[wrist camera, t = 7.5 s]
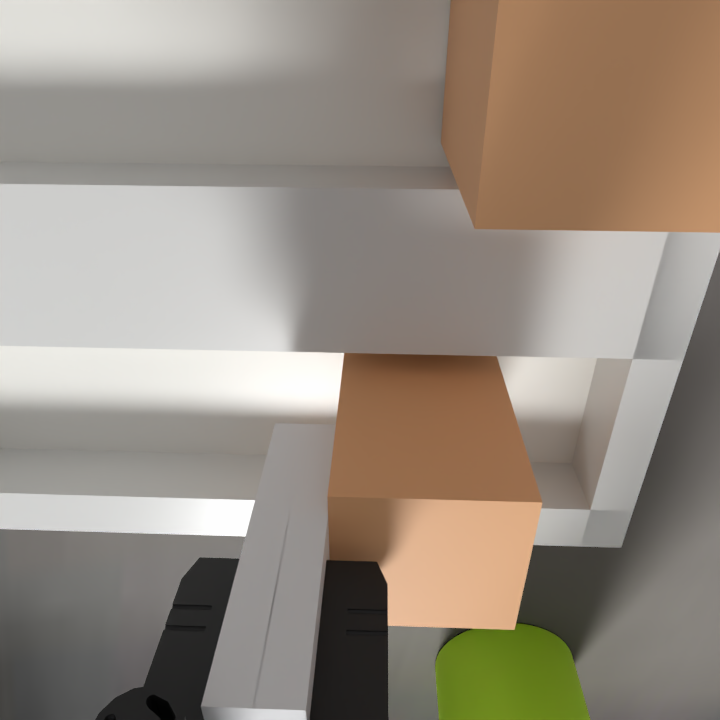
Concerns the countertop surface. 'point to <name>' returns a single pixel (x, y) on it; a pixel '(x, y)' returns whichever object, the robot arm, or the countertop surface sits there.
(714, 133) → the orange block
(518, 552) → the orange rectangular block
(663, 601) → the countertop surface
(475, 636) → the soap dispenser
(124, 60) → the grey compartment tray
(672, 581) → the countertop surface
